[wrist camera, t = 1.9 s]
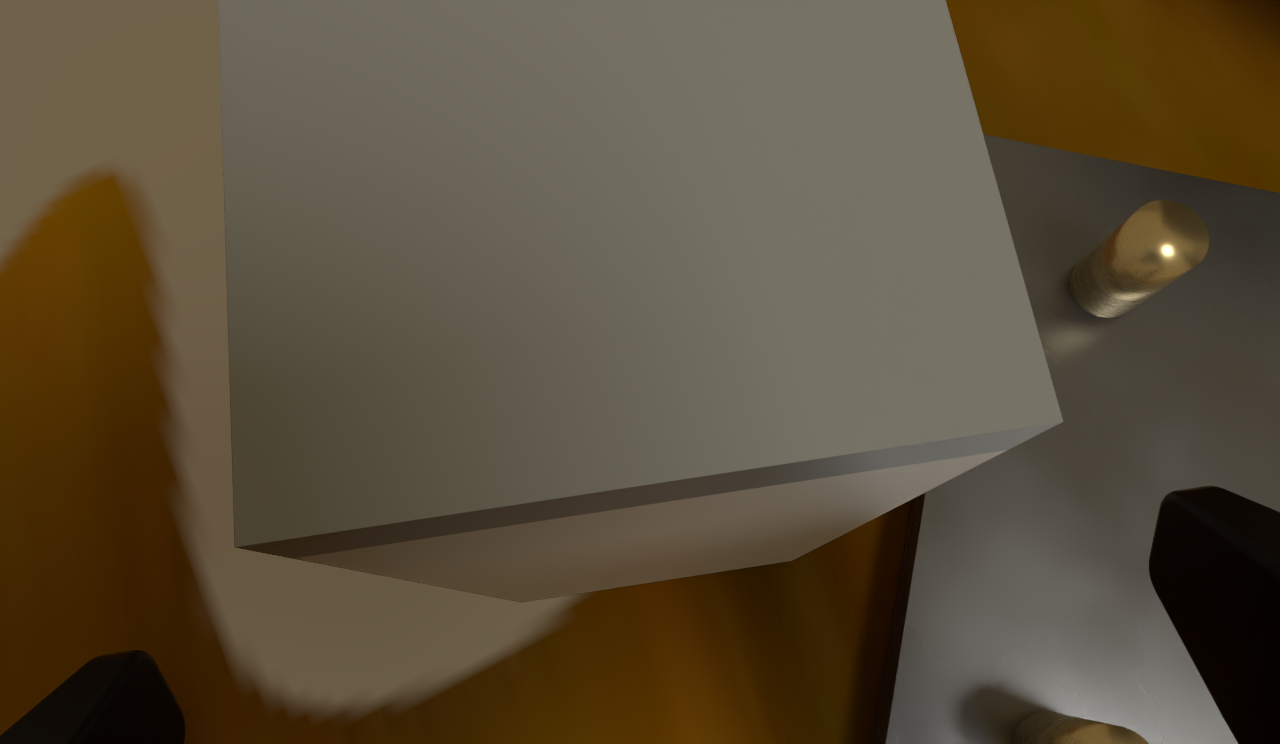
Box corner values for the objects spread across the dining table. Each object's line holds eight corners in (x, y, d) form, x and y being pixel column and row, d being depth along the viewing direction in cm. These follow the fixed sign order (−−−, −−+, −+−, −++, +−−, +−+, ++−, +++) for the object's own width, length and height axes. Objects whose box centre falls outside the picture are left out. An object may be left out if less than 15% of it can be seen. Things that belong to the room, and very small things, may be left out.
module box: (792, 560, 19) (1062, 421, 6) (521, 602, 19) (235, 547, 6) (743, 306, 20) (882, -227, 8) (493, 343, 20) (213, -135, 7)
